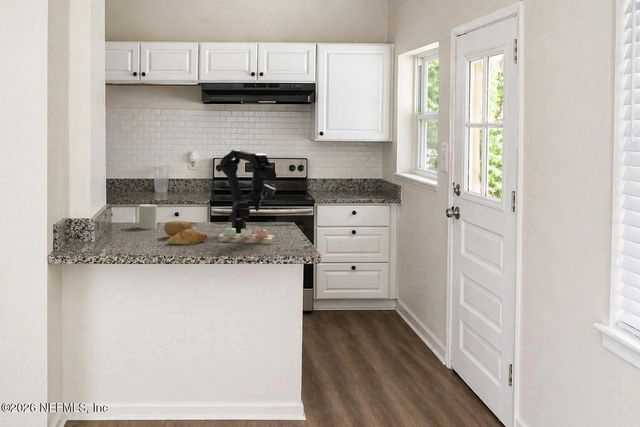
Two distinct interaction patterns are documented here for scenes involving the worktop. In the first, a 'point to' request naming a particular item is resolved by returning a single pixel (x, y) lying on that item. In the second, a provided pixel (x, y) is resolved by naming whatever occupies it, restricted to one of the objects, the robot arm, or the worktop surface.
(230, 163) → the robot arm
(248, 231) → the key two
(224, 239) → the board
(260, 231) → the key three
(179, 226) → the potato
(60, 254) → the worktop surface
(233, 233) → the key one
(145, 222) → the can
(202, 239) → the croissant
